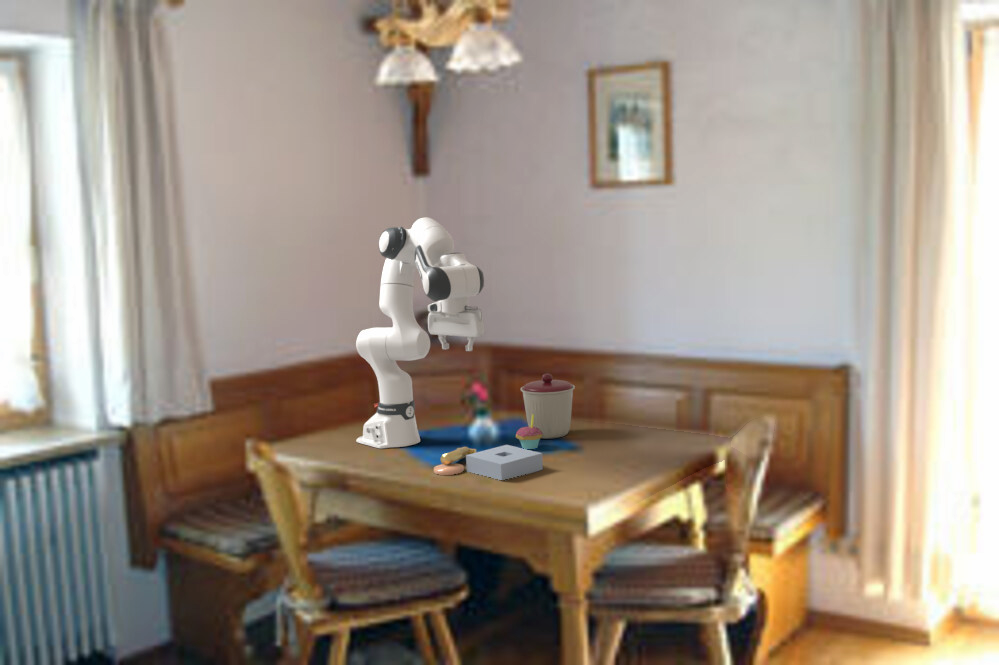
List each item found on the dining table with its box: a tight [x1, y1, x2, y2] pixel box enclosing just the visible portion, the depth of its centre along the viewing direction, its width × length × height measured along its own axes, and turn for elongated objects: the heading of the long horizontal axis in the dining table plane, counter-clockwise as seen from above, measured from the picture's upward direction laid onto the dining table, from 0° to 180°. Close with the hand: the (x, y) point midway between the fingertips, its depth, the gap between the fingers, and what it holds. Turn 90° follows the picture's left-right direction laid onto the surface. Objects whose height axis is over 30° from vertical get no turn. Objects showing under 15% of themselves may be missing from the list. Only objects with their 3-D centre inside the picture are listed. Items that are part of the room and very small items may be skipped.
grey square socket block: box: [465, 444, 544, 481], centre depth 307 cm, size 16×16×5 cm
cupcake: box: [515, 412, 543, 450], centre depth 332 cm, size 9×8×12 cm
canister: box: [520, 373, 576, 440], centre depth 347 cm, size 18×18×21 cm
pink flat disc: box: [433, 462, 465, 476], centre depth 310 cm, size 9×9×1 cm
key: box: [440, 446, 477, 465], centre depth 319 cm, size 3×6×17 cm
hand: (457, 350), depth 320 cm, fingers open, 8 cm apart
